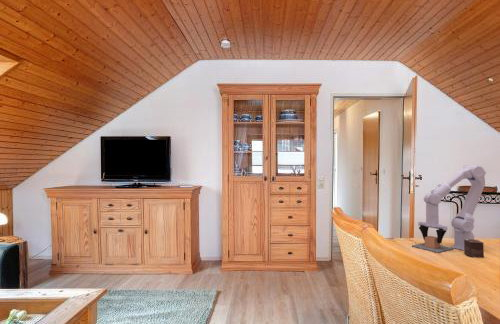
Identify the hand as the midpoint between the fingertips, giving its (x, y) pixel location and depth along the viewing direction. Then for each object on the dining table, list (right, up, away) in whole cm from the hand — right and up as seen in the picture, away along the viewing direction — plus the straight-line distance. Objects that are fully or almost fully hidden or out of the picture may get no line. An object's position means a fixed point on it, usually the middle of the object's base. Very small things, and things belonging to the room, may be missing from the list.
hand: (432, 241), depth 167 cm
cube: (0, -3, 0) cm, 3 cm away
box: (+12, -4, -14) cm, 19 cm away
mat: (0, -3, 0) cm, 3 cm away
